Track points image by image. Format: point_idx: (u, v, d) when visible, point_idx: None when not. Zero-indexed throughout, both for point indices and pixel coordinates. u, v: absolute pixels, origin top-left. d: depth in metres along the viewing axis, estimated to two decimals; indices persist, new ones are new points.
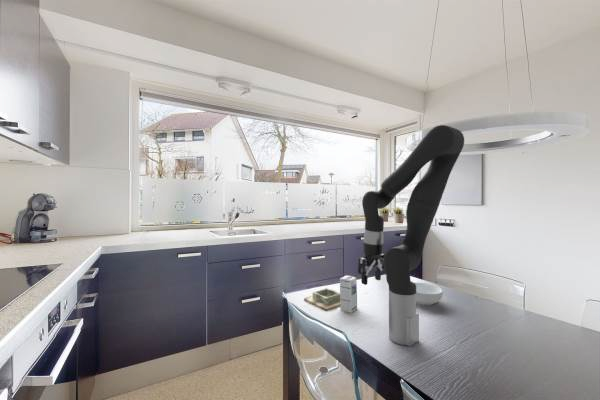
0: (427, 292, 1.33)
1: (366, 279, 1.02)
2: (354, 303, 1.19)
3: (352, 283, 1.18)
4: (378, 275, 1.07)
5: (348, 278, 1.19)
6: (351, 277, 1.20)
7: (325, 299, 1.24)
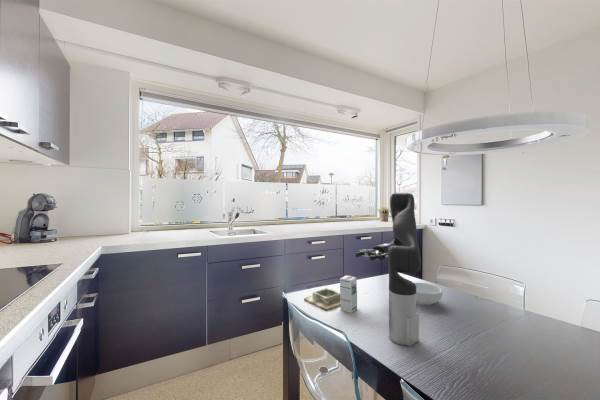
0: (427, 292, 1.33)
1: (358, 252, 1.32)
2: (354, 303, 1.19)
3: (352, 283, 1.18)
4: None
5: (348, 278, 1.19)
6: (351, 277, 1.20)
7: (325, 299, 1.24)
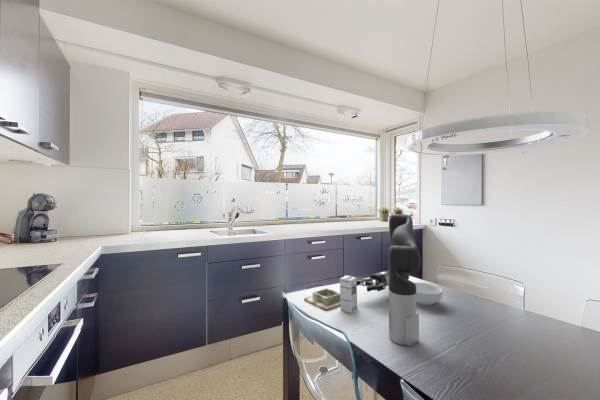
0: (427, 292, 1.33)
1: None
2: (354, 303, 1.19)
3: (352, 283, 1.18)
4: None
5: (348, 278, 1.19)
6: (351, 277, 1.20)
7: (325, 299, 1.24)
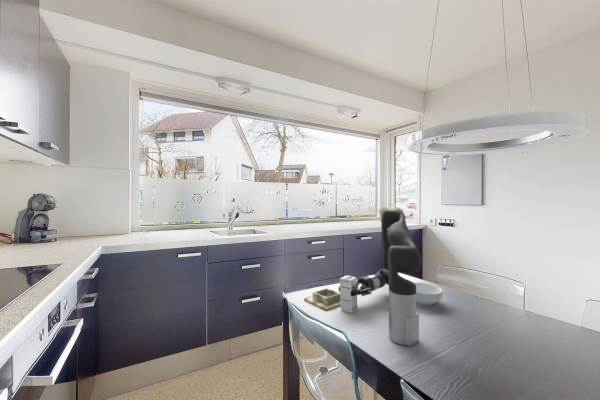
0: (427, 292, 1.33)
1: None
2: (354, 303, 1.19)
3: (352, 283, 1.18)
4: None
5: (348, 278, 1.19)
6: (351, 277, 1.20)
7: (325, 299, 1.24)
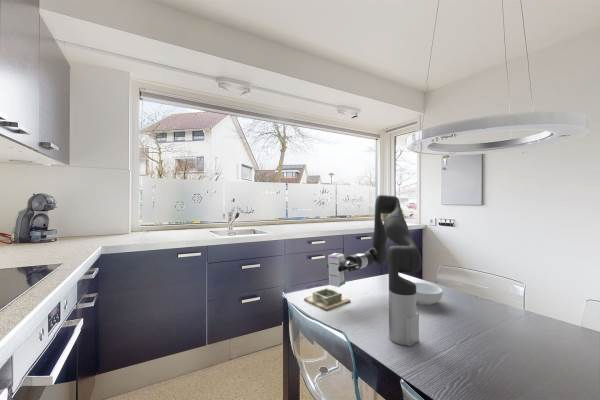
0: (427, 292, 1.33)
1: None
2: (342, 278, 1.25)
3: (340, 259, 1.23)
4: None
5: (336, 255, 1.25)
6: (339, 254, 1.26)
7: (325, 299, 1.24)
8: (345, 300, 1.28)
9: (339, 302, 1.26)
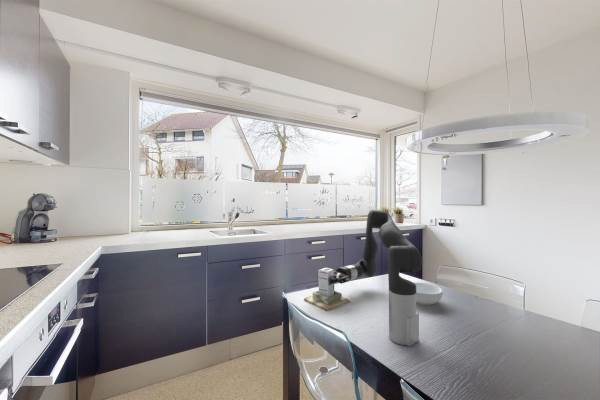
0: (427, 292, 1.33)
1: None
2: (331, 293, 1.29)
3: (329, 274, 1.28)
4: None
5: (326, 270, 1.29)
6: (329, 269, 1.31)
7: (325, 299, 1.24)
8: (345, 300, 1.28)
9: (339, 302, 1.26)
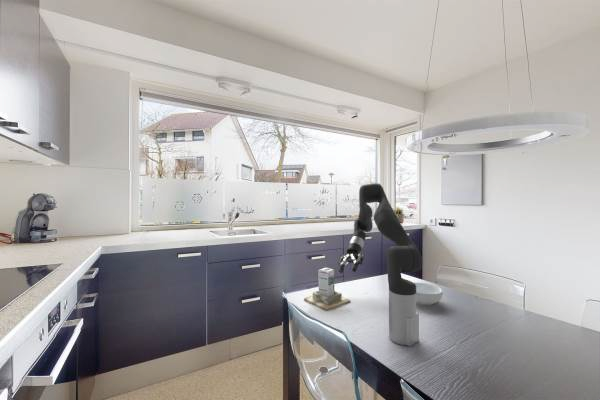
0: (427, 292, 1.33)
1: (340, 267, 1.39)
2: (331, 293, 1.29)
3: (329, 274, 1.28)
4: None
5: (326, 270, 1.29)
6: (329, 269, 1.31)
7: (325, 299, 1.24)
8: (345, 300, 1.28)
9: (339, 302, 1.26)
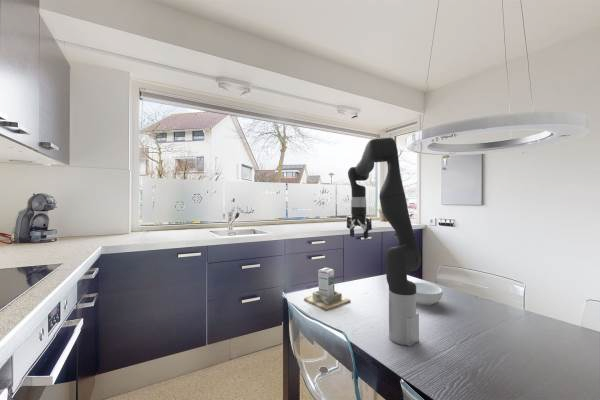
0: (427, 292, 1.33)
1: (350, 232, 1.39)
2: (331, 293, 1.29)
3: (329, 274, 1.28)
4: None
5: (326, 270, 1.29)
6: (329, 269, 1.31)
7: (325, 299, 1.24)
8: (345, 300, 1.28)
9: (339, 302, 1.26)
